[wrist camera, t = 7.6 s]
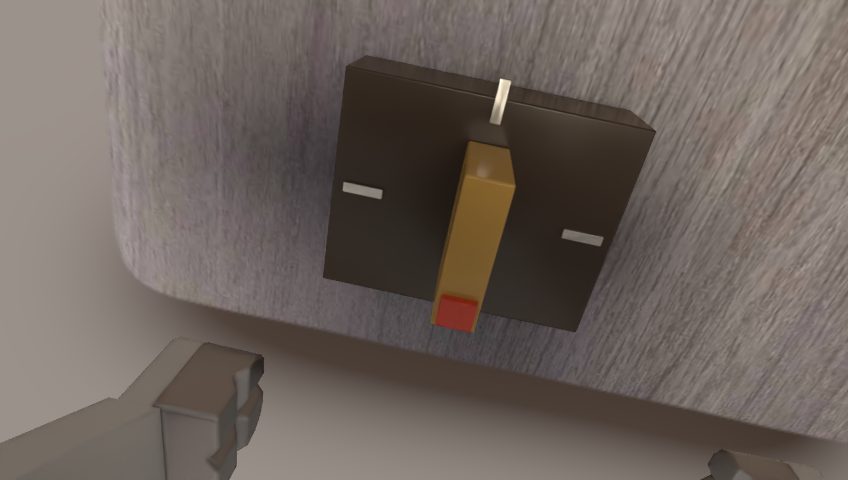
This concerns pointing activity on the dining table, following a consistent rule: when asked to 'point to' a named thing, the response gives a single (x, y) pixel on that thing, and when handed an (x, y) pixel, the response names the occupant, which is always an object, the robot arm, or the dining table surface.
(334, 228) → the plate
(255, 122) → the dining table surface
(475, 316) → the thumbturn
